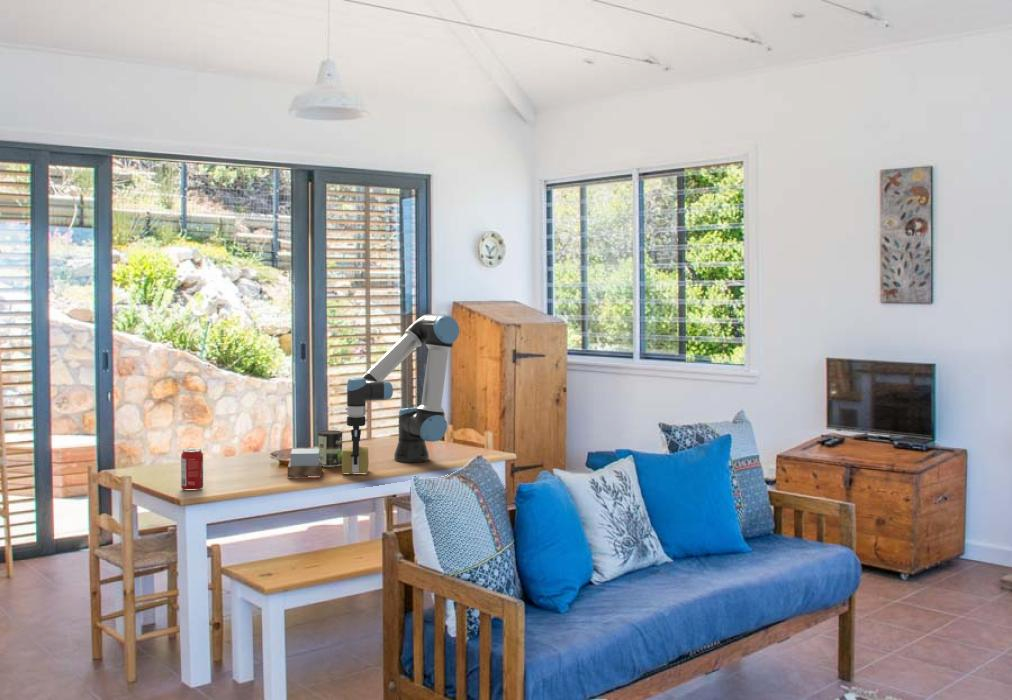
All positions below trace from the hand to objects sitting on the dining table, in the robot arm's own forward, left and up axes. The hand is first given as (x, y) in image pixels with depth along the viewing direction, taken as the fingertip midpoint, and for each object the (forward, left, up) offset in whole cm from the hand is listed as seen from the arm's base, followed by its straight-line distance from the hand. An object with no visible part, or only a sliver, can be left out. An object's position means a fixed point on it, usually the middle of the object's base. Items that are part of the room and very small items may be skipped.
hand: (355, 469), depth 416 cm
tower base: (+20, +3, -2) cm, 20 cm away
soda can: (+60, +29, -2) cm, 67 cm away
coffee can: (+11, -17, -2) cm, 20 cm away
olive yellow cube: (0, 0, -2) cm, 2 cm away
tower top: (+20, +3, +3) cm, 21 cm away
